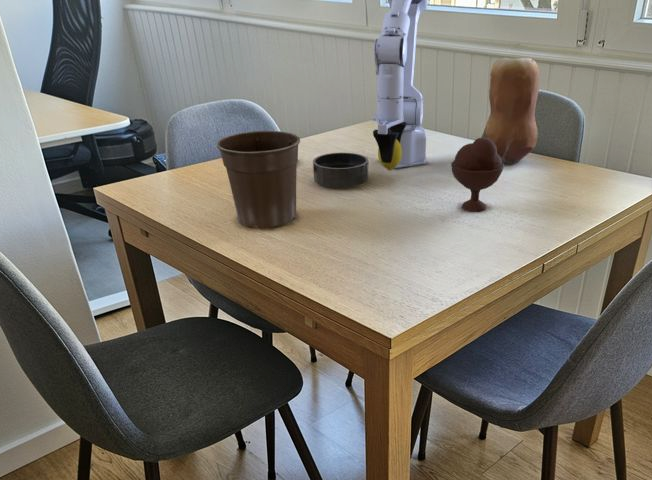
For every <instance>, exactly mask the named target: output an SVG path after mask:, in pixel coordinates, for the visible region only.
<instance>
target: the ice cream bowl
mask: <svg viewBox="0 0 652 480" xmlns="http://www.w3.org/2000/svg"><path fill="white" fill-rule="evenodd" d="M504 167H505V162H503V161H502V160H501V157H500V156H499V155H498V154H497V148H496V145H495V144H494V142H493V141H492V140H491V139H488V138H484V137H478V138H476V139H475V140H474V141H473V142H472V143H467V144H465V145H463V146H462V147H460V148H459V150H458V151H457V153H456V154H455V157H454V160H453V161H452V162H451V163H450V168H451V173H452V175H453V177H454V179H455V180H456V181H457V182H458V183H459V184H460V185H462V187H464V188H466V189H467V190H469V191H470V199H468V200H466V201H464V202H463V203H462V204H461V209H462V210H463V211H465V212H471V213H481V212H484V211H487V209H488V207H487V204H486V203H484V202H483V201H481V199H480V192H481V191H482V190H485V189H488V188H489V187H491V186H493V185H494V184H495V183H496V182H497V181H498V180H499V179H500V176H501V174H502V173H503V172H504V171H503V170H504Z"/></svg>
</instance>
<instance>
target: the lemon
mask: <svg viewBox="0 0 652 480" xmlns="http://www.w3.org/2000/svg"><path fill="white" fill-rule="evenodd" d="M377 157H378V162H379V163H380V165H381V166H382V167H383V168H385V169H387V171H392V170H393V169H395V168H394V167H396V166H397V165H398V164H399V163H400V161H401V157H402V149H401V145H400V143H399V141H398V140H397V139H396V141H395V145H394V151H393V158H392V161H391V163H383V162H382V160H381V156H380V151H379V148H377Z"/></svg>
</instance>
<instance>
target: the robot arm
mask: <svg viewBox="0 0 652 480" xmlns="http://www.w3.org/2000/svg"><path fill="white" fill-rule="evenodd" d="M387 2H388V5H389V9H390V10H389V11H387V12H386V13H385V15H384V17H383V21H382V27H381V31H380V35H379V37H378V38H375V40H374V46H373V57H374V65H375V75H377V81H376V83H377V86H376V87H377V89H376V91H377V95H376V96H377V98H376V99H377V103H376V104H377V115H373V116H372V121H375V122H376V123H377V129H374V130H373V131H372V136H373V138H374V139H375V141H376V144H377V147H378V149H379V151H380V156H381V160H382V162H383V163H391V161H392V158H393V151H394V145H395V141H396V139H397V140H398V141H399V143H400V145H401V149H402V157H401V161H400V163H399V164H398V165H397V166H396V167H394V168H393V169H401V168H406V167H412V166H413V167H414V166H418V165H419V166H420V165H425V164H427V160H426V155H427V154H426V153H427V152H426V151H427V133H426V131H425V129H424V127H423V126H422V124H423V117H424V116H423V115H424V104H423V103H424V96H423V95H422V92H420V90H418V89H417V88H416V87H415V86H414V75H415V61H416V60H415V59H416V47H417V34H418V22H419V18H420V15H421V13H422V12H423V11H425V10H427V9H428V5H429V0H387Z"/></svg>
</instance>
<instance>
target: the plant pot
mask: <svg viewBox="0 0 652 480" xmlns="http://www.w3.org/2000/svg"><path fill="white" fill-rule="evenodd" d="M300 143H301V137H300V136H298V134H297V135H296V134H295V133H292V132H287V131H281V130H280V131H278V130H253V131H244V132H239V133H235V134H231V135H228V136H225V137H222V138H220V139H219V140H218V141H217V142H216V148H217V149H218V150H219V152H220V155H221V156H220V157H221V159H222V163H223V166H224V167H225V169H226V173H227V178H228V181H229V187H230V189H231V190H230V191H231V195H232V198H233V203H234V207H235V211H236V216H237V221H238V222H239V224H241V226H244V227H247V228H253V227H255V228H258V229H275V228H276V229H277V228H280V227H283V226H286V225H288V224H290V223H292V222H293V220H295V219H296V218H297V162H298V159H299V145H300Z"/></svg>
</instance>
